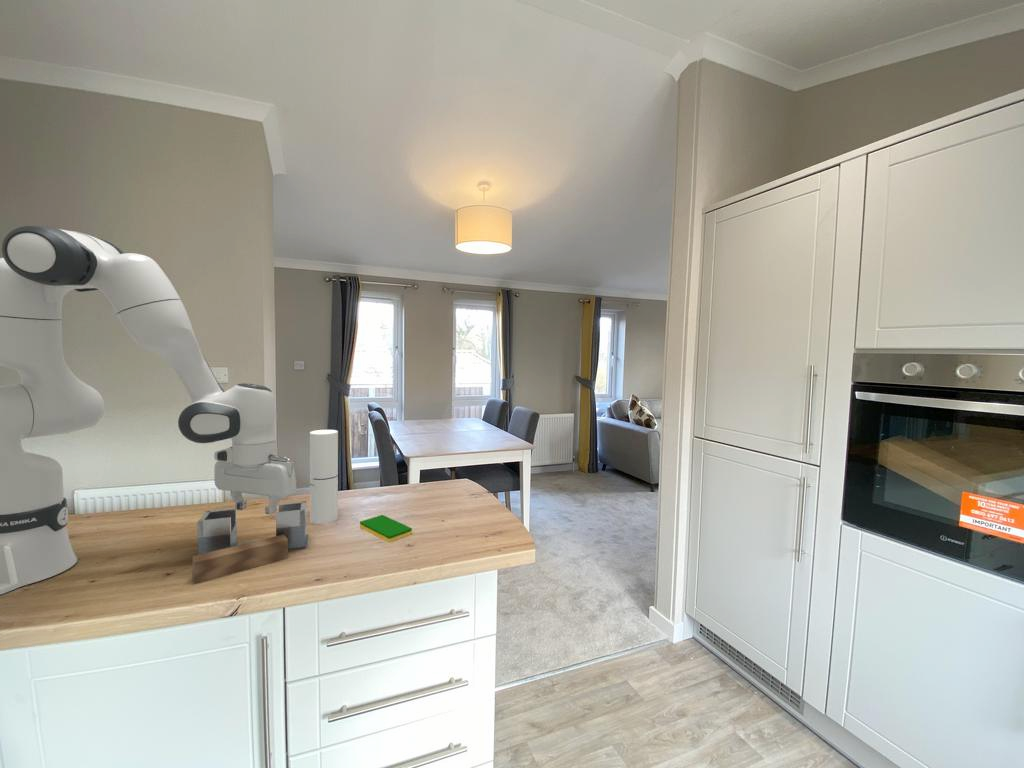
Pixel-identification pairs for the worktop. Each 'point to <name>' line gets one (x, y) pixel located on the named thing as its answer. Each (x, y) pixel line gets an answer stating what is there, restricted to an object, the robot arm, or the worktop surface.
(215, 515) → the bracket stand
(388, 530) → the dish sponge
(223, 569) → the rail
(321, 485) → the cylindrical container
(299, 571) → the worktop surface
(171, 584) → the worktop surface
